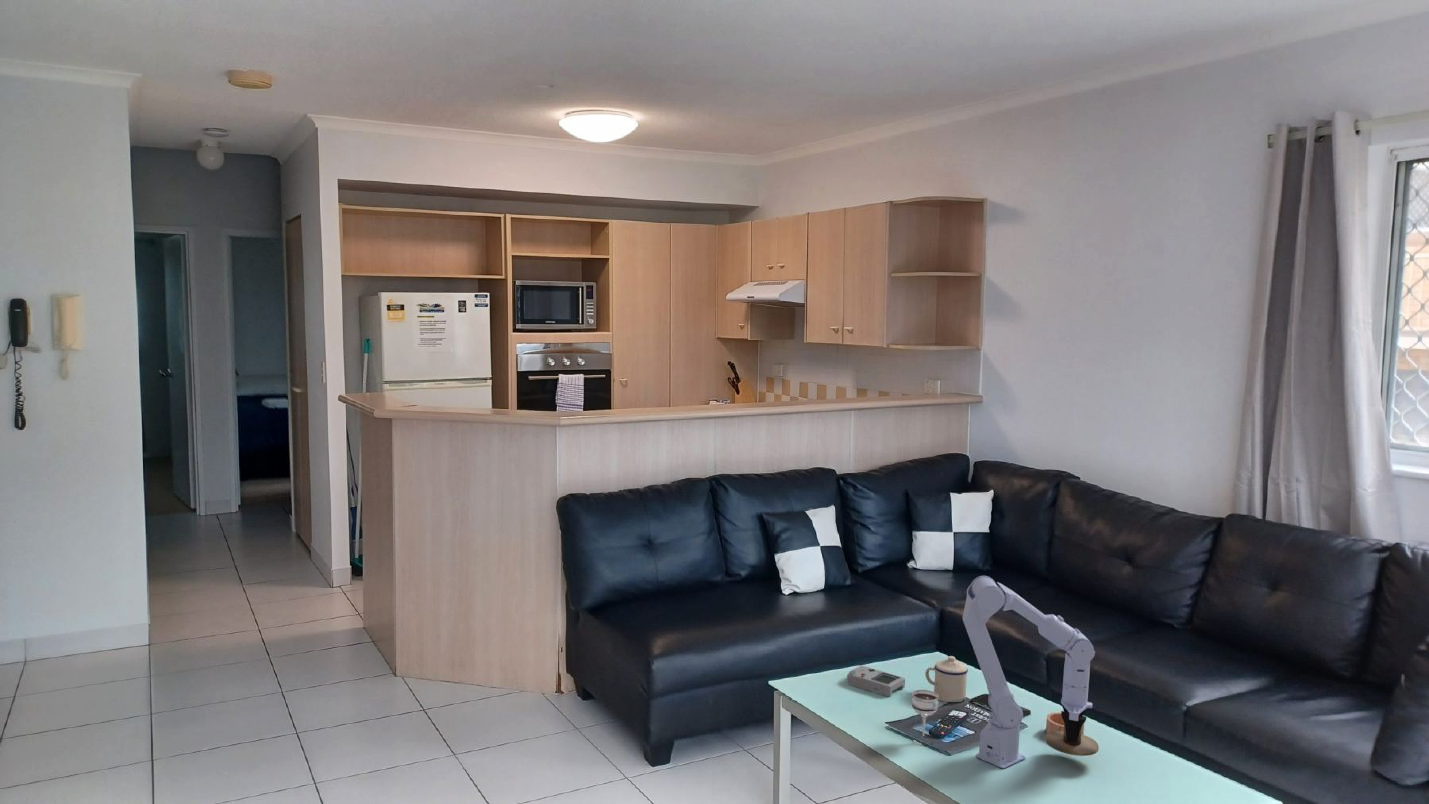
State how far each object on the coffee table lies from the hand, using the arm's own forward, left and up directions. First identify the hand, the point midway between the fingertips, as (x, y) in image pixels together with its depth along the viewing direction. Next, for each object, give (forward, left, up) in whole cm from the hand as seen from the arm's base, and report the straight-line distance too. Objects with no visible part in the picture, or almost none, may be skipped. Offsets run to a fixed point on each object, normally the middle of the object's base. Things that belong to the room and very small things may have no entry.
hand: (1071, 737), depth 231 cm
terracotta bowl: (+12, +9, -6) cm, 16 cm away
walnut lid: (0, 0, -2) cm, 2 cm away
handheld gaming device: (-4, +59, -6) cm, 60 cm away
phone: (+13, +29, -6) cm, 32 cm away
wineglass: (-21, +28, -6) cm, 35 cm away
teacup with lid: (+7, +43, -6) cm, 44 cm away
